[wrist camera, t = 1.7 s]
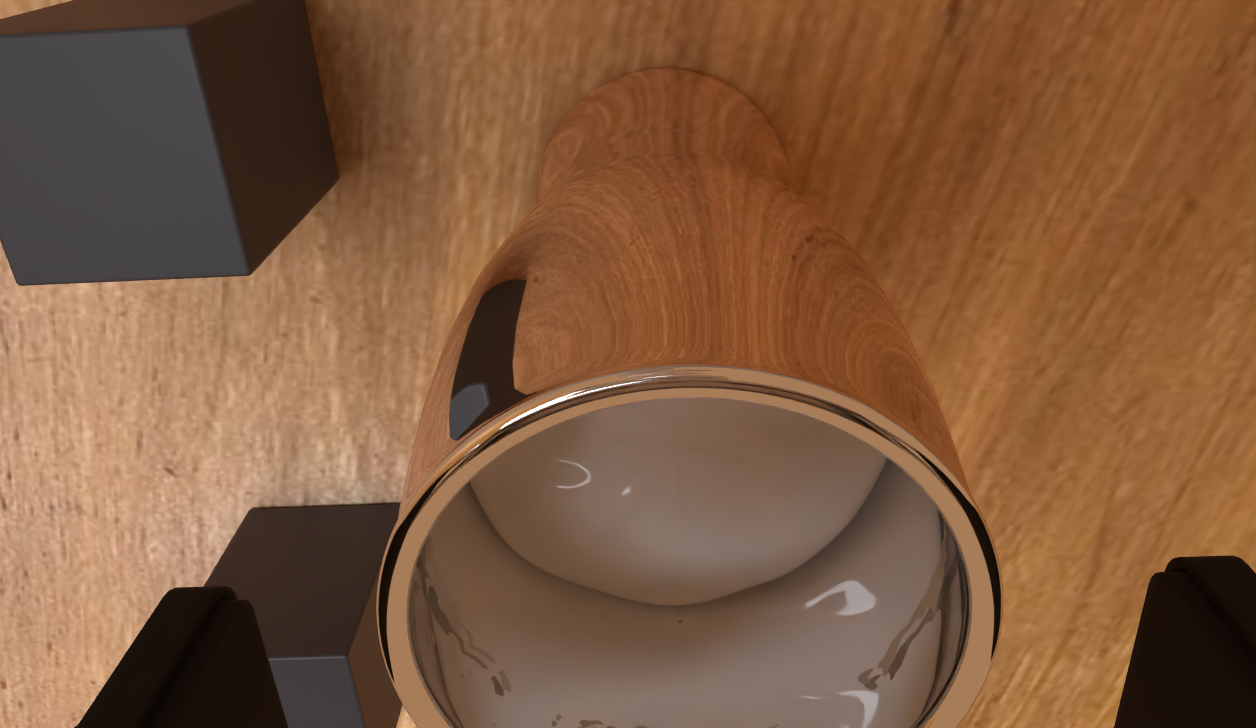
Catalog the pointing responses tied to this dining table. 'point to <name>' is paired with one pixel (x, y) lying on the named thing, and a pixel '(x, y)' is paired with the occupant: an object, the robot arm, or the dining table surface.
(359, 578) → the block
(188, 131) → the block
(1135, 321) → the dining table surface
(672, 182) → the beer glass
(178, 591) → the robot arm
